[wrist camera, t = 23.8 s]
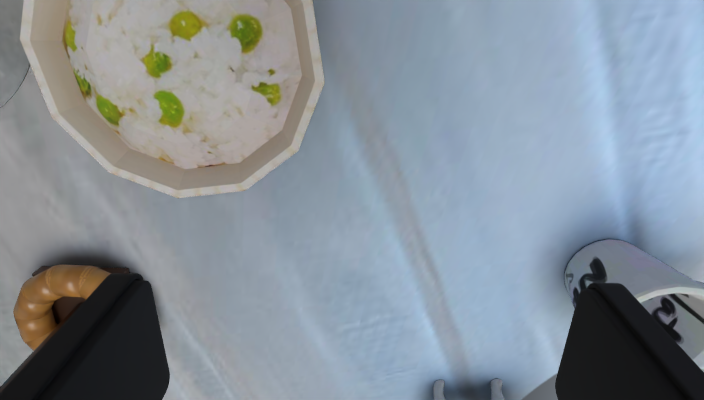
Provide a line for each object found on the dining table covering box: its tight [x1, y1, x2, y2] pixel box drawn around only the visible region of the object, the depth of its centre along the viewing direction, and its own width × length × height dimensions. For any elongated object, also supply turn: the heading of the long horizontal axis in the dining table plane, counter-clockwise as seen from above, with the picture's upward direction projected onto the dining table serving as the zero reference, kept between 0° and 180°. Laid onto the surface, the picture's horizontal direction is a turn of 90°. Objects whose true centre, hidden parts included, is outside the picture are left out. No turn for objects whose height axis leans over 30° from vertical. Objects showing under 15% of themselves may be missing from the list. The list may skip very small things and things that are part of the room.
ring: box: [13, 264, 111, 351], centre depth 45 cm, size 13×13×3 cm
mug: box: [565, 239, 704, 370], centre depth 40 cm, size 10×15×10 cm
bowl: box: [20, 0, 325, 198], centre depth 32 cm, size 19×19×10 cm
